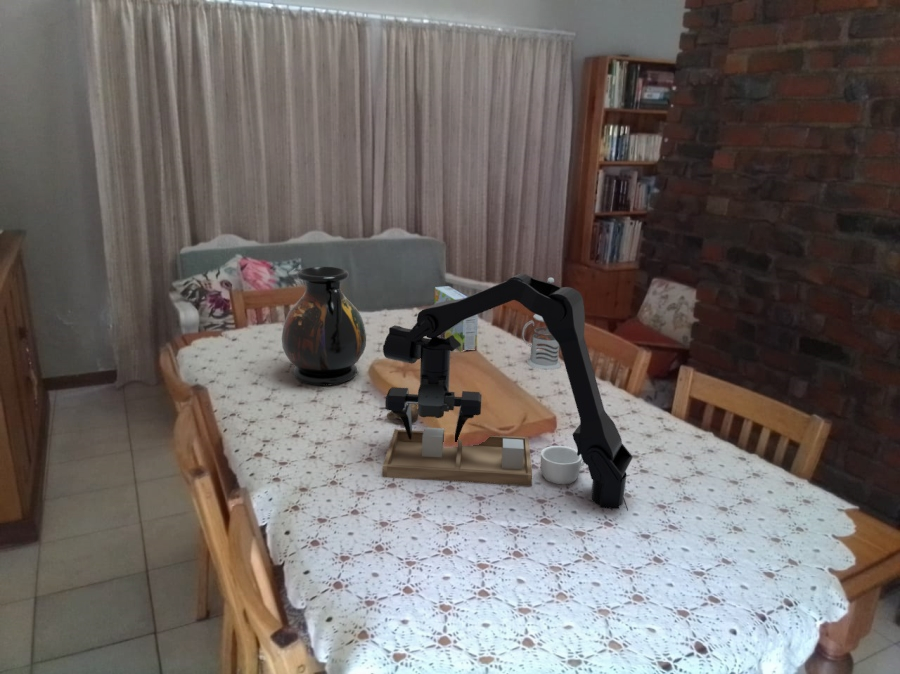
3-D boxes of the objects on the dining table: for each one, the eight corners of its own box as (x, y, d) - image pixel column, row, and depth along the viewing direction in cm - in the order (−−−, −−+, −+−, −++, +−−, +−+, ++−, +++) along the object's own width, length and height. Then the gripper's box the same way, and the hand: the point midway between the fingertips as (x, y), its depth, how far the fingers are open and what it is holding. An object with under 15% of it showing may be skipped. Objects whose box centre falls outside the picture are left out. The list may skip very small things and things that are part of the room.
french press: (563, 370, 189) (571, 282, 182) (522, 368, 190) (528, 280, 182) (559, 358, 199) (566, 274, 191) (519, 356, 199) (525, 272, 191)
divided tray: (531, 489, 127) (532, 475, 126) (382, 480, 129) (382, 466, 128) (527, 450, 143) (528, 437, 142) (394, 442, 144) (394, 429, 143)
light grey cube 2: (522, 469, 133) (523, 448, 131) (501, 468, 133) (503, 447, 132) (521, 459, 137) (523, 439, 135) (501, 458, 137) (502, 438, 136)
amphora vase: (380, 382, 176) (380, 276, 168) (300, 397, 165) (296, 284, 157) (346, 357, 194) (345, 260, 185) (272, 369, 183) (267, 266, 174)
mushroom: (373, 408, 152) (390, 387, 151) (391, 409, 159) (407, 389, 158) (395, 433, 149) (413, 412, 148) (412, 433, 156) (430, 413, 155)
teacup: (554, 493, 126) (556, 467, 125) (530, 475, 133) (532, 450, 131) (596, 482, 131) (599, 457, 129) (572, 464, 137) (574, 440, 136)
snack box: (432, 332, 219) (433, 286, 214) (448, 330, 221) (449, 285, 217) (461, 352, 201) (463, 303, 196) (478, 350, 203) (480, 301, 199)
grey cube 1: (443, 448, 140) (444, 428, 139) (441, 457, 136) (442, 437, 135) (424, 447, 141) (424, 427, 139) (422, 456, 137) (422, 435, 135)
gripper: (380, 379, 126) (380, 455, 131) (481, 385, 125) (478, 461, 130) (389, 359, 136) (389, 430, 141) (483, 364, 135) (479, 435, 140)
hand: (433, 439), depth 138 cm, fingers open, 9 cm apart
